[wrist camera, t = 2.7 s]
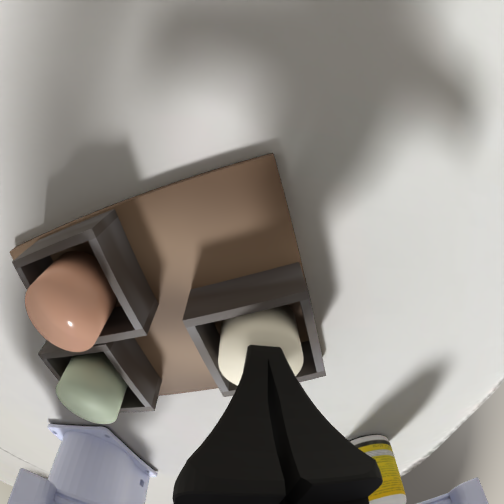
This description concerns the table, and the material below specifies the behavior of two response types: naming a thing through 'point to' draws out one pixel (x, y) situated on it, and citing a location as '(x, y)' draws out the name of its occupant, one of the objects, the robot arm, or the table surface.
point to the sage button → (92, 388)
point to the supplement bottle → (383, 469)
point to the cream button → (258, 339)
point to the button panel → (185, 277)
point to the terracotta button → (71, 301)
